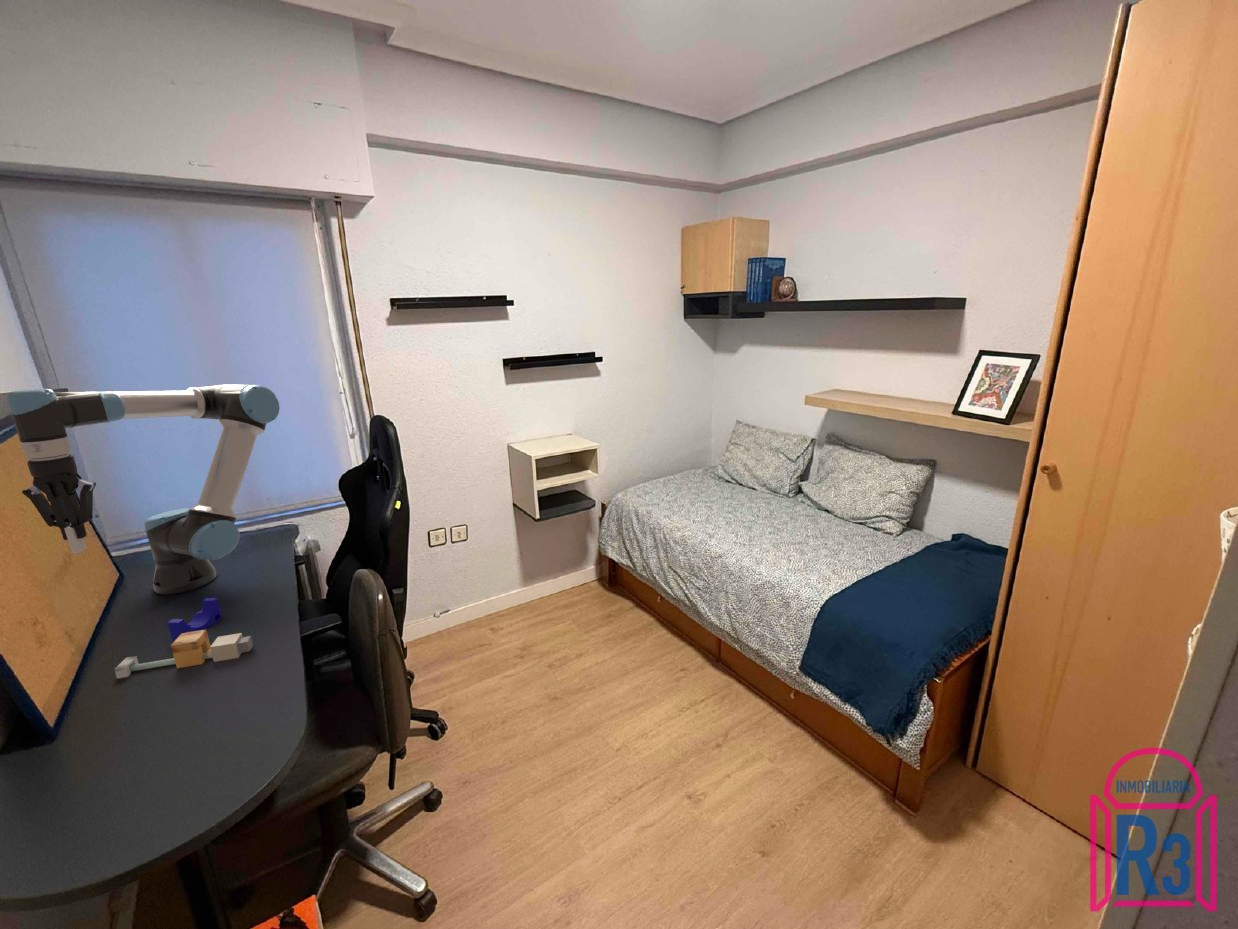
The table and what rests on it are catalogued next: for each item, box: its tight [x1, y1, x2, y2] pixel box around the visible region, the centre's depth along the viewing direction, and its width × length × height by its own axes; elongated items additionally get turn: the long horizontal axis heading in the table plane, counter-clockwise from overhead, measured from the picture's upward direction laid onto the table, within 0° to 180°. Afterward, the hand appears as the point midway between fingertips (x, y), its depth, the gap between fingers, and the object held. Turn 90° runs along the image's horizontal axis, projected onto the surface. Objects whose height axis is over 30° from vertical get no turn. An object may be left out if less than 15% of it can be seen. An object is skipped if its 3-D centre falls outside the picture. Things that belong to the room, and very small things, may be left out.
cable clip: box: [167, 597, 223, 643], centre depth 137 cm, size 12×4×6 cm, turn 176°
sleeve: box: [170, 629, 211, 669], centre depth 124 cm, size 5×5×6 cm
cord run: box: [114, 632, 254, 679], centre depth 124 cm, size 26×5×4 cm, turn 107°
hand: (79, 550), depth 128 cm, fingers closed
